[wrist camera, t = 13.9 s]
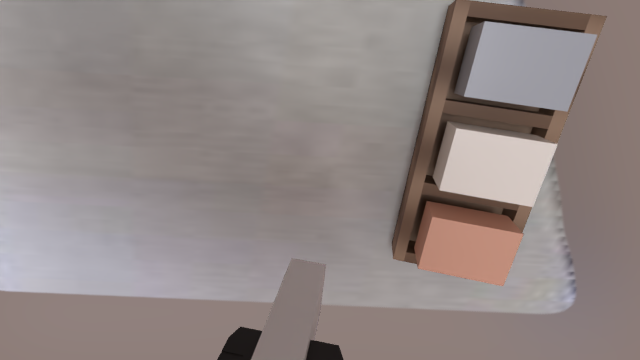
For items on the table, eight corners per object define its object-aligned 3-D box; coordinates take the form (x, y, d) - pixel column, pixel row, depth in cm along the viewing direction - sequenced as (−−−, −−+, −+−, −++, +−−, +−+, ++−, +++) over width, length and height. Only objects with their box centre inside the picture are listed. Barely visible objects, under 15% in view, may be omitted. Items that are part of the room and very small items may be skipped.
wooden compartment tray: (448, 6, 26) (456, -2, 24) (581, 21, 25) (606, 16, 22) (391, 243, 34) (393, 258, 31) (492, 263, 33) (503, 281, 30)
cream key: (447, 121, 26) (456, 128, 23) (536, 134, 26) (557, 144, 23) (432, 176, 28) (439, 190, 25) (515, 191, 27) (532, 207, 24)
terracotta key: (426, 200, 29) (432, 216, 26) (507, 215, 28) (523, 234, 25) (414, 248, 30) (417, 268, 27) (490, 263, 30) (503, 286, 27)
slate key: (471, 26, 24) (484, 21, 21) (569, 38, 24) (597, 34, 21) (453, 92, 26) (464, 96, 23) (544, 106, 25) (567, 111, 22)
